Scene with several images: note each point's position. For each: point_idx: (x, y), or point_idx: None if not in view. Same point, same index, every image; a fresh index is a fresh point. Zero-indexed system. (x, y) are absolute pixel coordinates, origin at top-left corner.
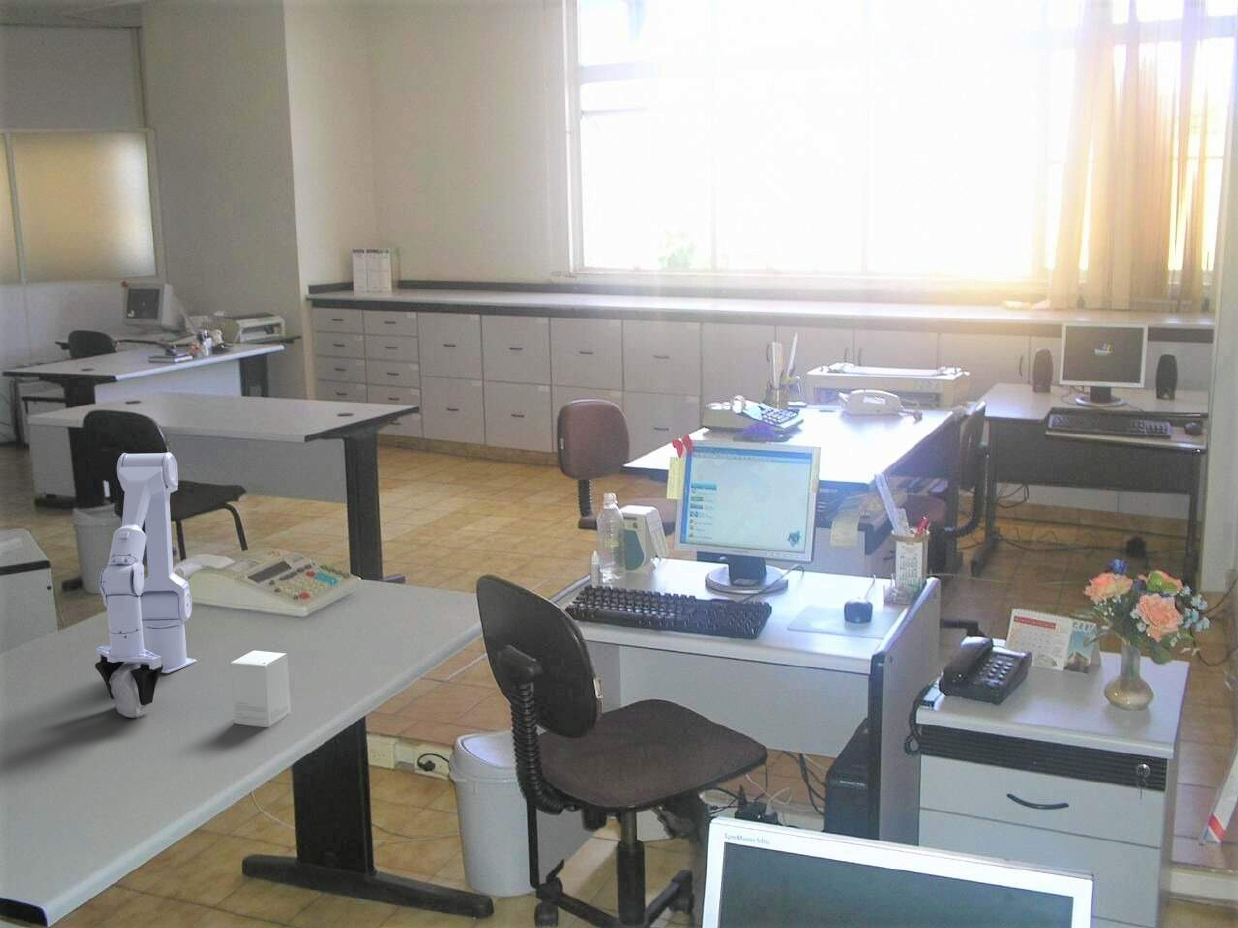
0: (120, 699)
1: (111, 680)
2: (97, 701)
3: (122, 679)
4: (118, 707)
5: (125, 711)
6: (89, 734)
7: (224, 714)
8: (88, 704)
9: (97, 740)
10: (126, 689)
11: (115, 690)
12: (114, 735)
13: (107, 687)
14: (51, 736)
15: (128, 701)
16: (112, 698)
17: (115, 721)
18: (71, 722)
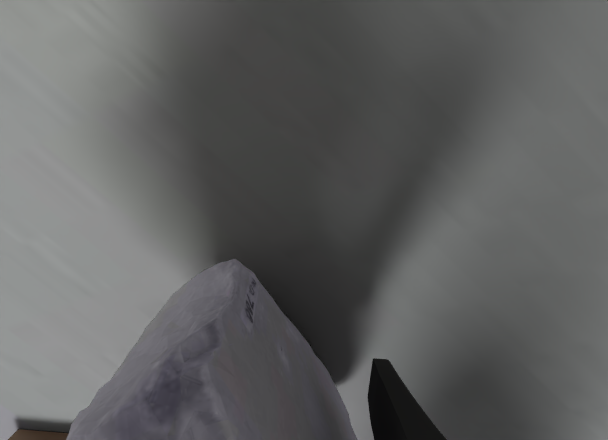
0: (201, 300)
1: (171, 381)
2: (518, 379)
3: (79, 420)
4: (225, 270)
5: (203, 271)
6: (293, 124)
7: (45, 415)
8: (532, 350)
9: (207, 85)
10: (133, 358)
11: (196, 326)
12: (191, 158)
13: (413, 400)
14: (439, 29)
15: (174, 310)
16: (380, 359)
17: (306, 265)
18: (469, 195)
